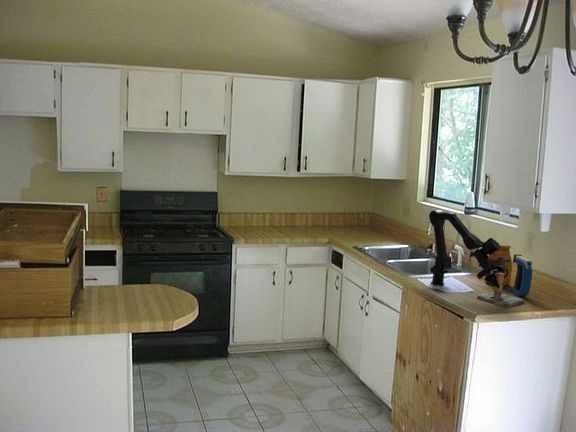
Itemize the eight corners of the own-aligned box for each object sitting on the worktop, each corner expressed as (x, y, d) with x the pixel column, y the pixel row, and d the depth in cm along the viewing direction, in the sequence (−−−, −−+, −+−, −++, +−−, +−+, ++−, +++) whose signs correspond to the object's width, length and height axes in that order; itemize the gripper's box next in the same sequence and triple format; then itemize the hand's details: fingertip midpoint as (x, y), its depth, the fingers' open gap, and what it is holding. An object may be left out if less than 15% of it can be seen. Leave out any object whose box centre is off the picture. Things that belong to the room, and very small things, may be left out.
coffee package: (512, 286, 320) (518, 247, 317) (492, 286, 317) (498, 246, 314) (501, 281, 330) (506, 243, 327) (482, 281, 327) (487, 242, 323)
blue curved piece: (516, 290, 313) (521, 254, 310) (529, 299, 297) (534, 261, 294) (508, 290, 313) (512, 253, 310) (520, 298, 297) (525, 260, 294)
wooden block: (492, 298, 289) (495, 272, 287) (499, 299, 289) (503, 273, 287) (493, 300, 285) (497, 274, 284) (501, 301, 285) (505, 275, 283)
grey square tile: (477, 298, 290) (477, 295, 290) (494, 294, 301) (494, 291, 301) (507, 307, 278) (507, 304, 278) (524, 302, 289) (524, 299, 289)
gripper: (486, 252, 280) (504, 281, 274) (505, 249, 293) (523, 276, 286) (469, 265, 287) (486, 292, 281) (488, 261, 300) (505, 288, 293)
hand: (501, 287), depth 285 cm, fingers closed on wooden block, 4 cm apart
